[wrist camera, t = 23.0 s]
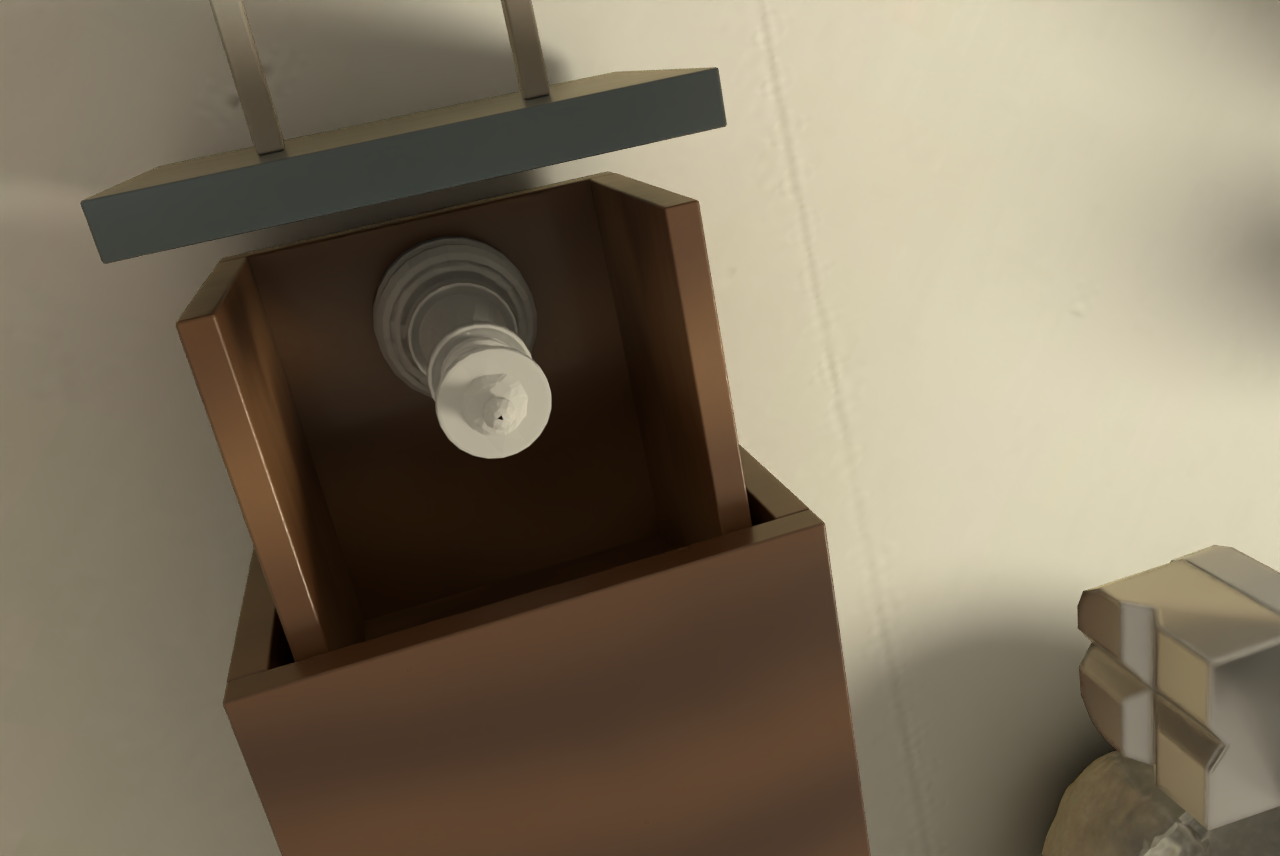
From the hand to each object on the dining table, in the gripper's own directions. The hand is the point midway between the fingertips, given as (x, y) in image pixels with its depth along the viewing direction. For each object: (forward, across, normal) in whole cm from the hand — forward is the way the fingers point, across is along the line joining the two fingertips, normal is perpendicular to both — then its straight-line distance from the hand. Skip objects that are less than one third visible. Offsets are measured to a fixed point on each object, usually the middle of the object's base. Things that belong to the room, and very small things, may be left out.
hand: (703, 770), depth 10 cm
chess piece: (+22, 0, 0) cm, 22 cm away
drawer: (+23, +1, 0) cm, 23 cm away
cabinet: (+24, 0, +13) cm, 27 cm away
